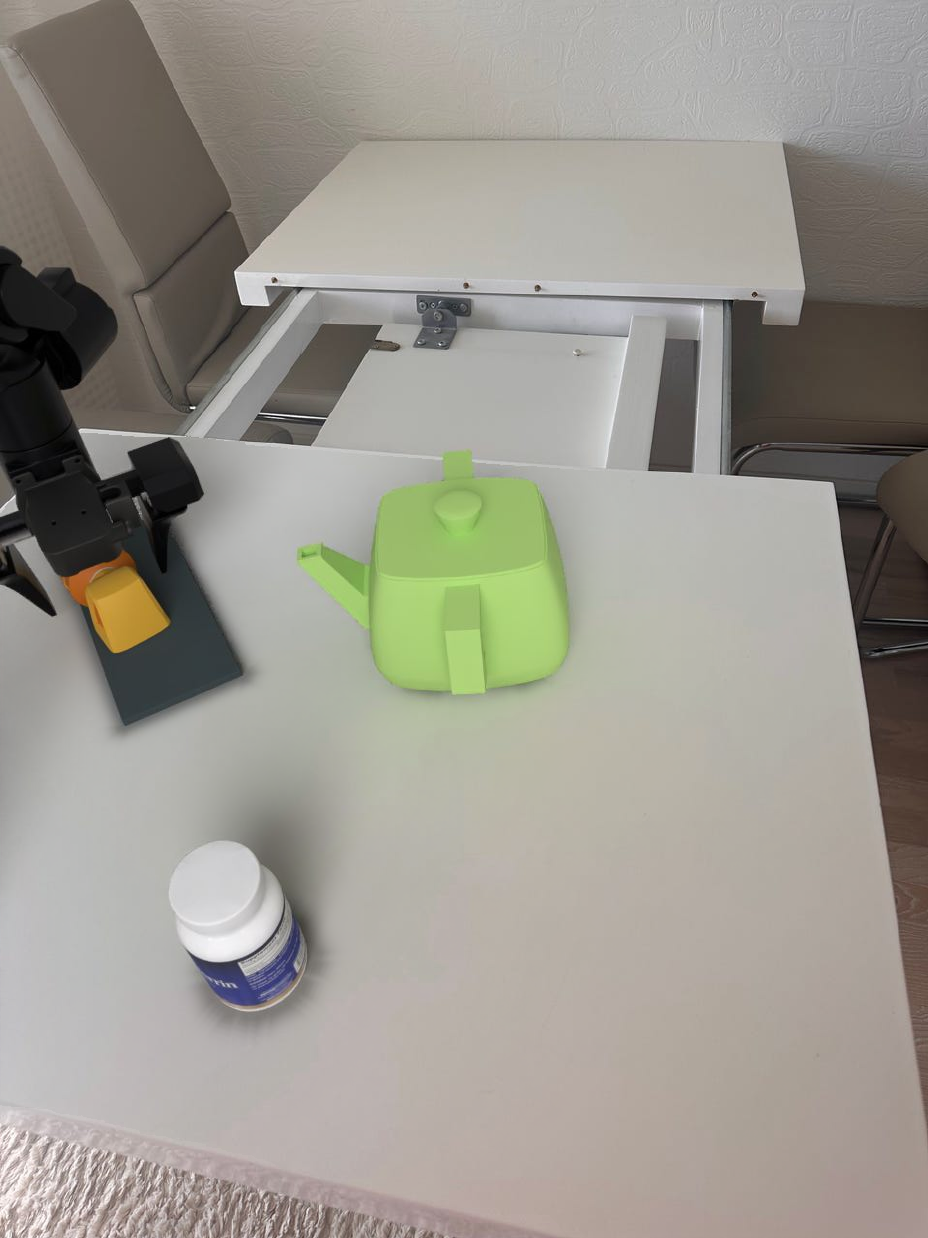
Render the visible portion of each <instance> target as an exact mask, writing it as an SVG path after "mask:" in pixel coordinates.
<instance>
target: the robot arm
mask: <svg viewBox="0 0 928 1238" xmlns="http://www.w3.org/2000/svg"><path fill="white" fill-rule="evenodd" d="M22 264H23V259H22V257H21V256H20V255H18V253H17V252H16V251H14V250H13V249H11V248H9V247H7V246H5V245H0V469H1V471H2V472H3V474H4V476H5V478H6V480H7V482H8V483H9V486H10V487H11V489H12V491H13V494H14V495H15V505H16V508H17V510H16V511H13V512H10V513H8V514H5V515H2V516H0V586H4V587H6V588H8V589H10V590H11V591H14V592H16V593H18V594H19V595H20V596H22V597H23V598H24V599H26V600H27V601H29V602H30V603H31V604H33V605H34V606H36V607H37V608H38V609H40V610H41V611H42V612H44V613H46V614H47V615H48V616H49V617H50V618H54V617H57V616H58V614H57V610H56V608H55V605H54V604H53V602H52V600H51V597H50V595H49V594H48V592H47V590H46V589H45V587H44V586H43V584H42V583H41V581H40V580H39V579H38V577H37V576H36V574H35V573H34V571H33V569H32V568H31V567H30V565H29V564H28V562H27V561H26V560H25V558H24V557H23V555H22V554H21V552H20V551H19V549H18V548H17V546H16V545H15V544H17V543H19V542H23V541H26V540H28V539H31V538H33V537H35V540H36V542H37V544H38V547H39V549H40V551H41V552H42V554H43V556H44V557H45V559H46V561H47V562H48V564H49V565H50V567H51V569H52V570H53V572H54V573H55V574H56V575H57V576H59V577H60V576H61V577H71V576H74V575H77V574H78V573H79V572H80V571H83V570H85V569H88V568H91V567H93V566H96V565H98V564H101V563H108V562H111V561H113V560H115V559H117V558H118V557H119V556H120V555H121V553H122V550H123V547H122V543H121V541H122V540H124V539H127V538H129V537H133V536H134V534H133V532H132V531H133V529H134V528H137V527H139V526H142V525H143V522H142V520H143V521H144V525H145V528H146V532H147V536H148V539H149V543H150V546H151V550H152V553H153V555H154V557H155V560H156V562H157V564H158V566H159V569H160V571H161V573H162V574H164V573H166V572H167V557H168V537H169V531H170V532H171V526H172V522H173V521H174V520H175V518H177V517H178V516H181V515H183V514H185V513H187V511H188V507H189V505H192V504H195V503H197V502H199V501H201V499H202V498H203V497H204V495H205V493H204V492H205V491H204V489H203V487H202V483H201V480H200V478H199V475H198V473H197V471H196V469H195V467H194V465H193V463H192V462H191V460H190V458H189V456H188V455H187V452H186V451H185V450H184V448H183V446H182V444H181V443H180V441H178V440H176V439H174V438H172V437H170V436H168V437H165V438H161V439H159V440H156V441H153V442H151V443H148V444H144V445H142V446H139V447H136V448H133V449H130V450H128V451H126V454H127V457H128V460H129V462H130V464H131V467H130V469H128V470H125V471H122V472H119V473H116V474H114V475H111V476H108V477H105V478H103V479H102V478H101V476H100V474H99V472H98V471H97V469H96V466H95V465H94V464H95V463H94V462H93V460H92V458H91V455H90V454H89V451H88V449H87V447H86V444H85V442H84V440H83V437H82V435H81V433H80V431H79V429H78V426H77V423H76V422H75V419H74V416H73V415H72V413H71V411H70V408H69V405H67V402H66V399H65V397H64V395H63V393H62V391H66V390H72V389H74V388H75V387H78V386H79V385H80V383H81V382H82V381H83V380H85V378H86V376H87V375H88V374H89V373H90V371H91V370H92V369H93V368H94V367H95V366H96V364H97V363H98V362H99V360H100V359H101V358H102V357H103V355H104V354H105V353H106V352H107V351H108V350H109V348H110V347H111V346H112V345H113V343H114V342H115V341H116V339H117V336H118V334H119V333H118V332H119V324H118V319H117V315H116V314H115V311H114V309H113V308H112V307H111V306H109V305H108V304H107V302H106V301H105V299H104V298H103V297H101V295H99V293H97V292H96V291H94V289H92V288H91V287H89V286H87V285H85V284H83V283H81V282H78V281H77V279H76V277H75V274H74V271H73V269H72V268H71V267H70V266H60V267H59V266H45V267H44V268H43V269H42V270H41V271H40V272H39V273H38V274H37V275H34V274H33V273H32V272H30V271H29V270H28V269H26V268H25V267H23V266H22ZM135 498H136V499H137V503H138V506H139V510H140V512H139V510H138V508H137V505H136V503H135V501H134V499H135ZM140 514H141V515H140Z"/></svg>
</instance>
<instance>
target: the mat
mask: <svg viewBox="0 0 928 1238" xmlns="http://www.w3.org/2000/svg"><path fill="white" fill-rule="evenodd" d="M142 522H143V525H142V526H139V527H137V528H134V529H133V531H132V532H133V534H134V536H133V537H129V538H127V539H124V540H122V541H121V543H122V547H123V549H124V550H125V552H127V553H128V554H129V555H130V556H131V557H132V559H133V560H134V562H135V565H136V569H137V574H138V575H139V576H140V577H141V578H142V579H143V581H144V582H145V584H146V585H147V587H148V588H149V590H150V591H151V593H152V594H153V596H154V597H155V599H156V600H157V602H158V603H159V605H160V606H161V608H162V609H163V611H164V612H165V614H166V615H167V616H168V618H169V619H170V621H171V622H170V624H169V626H167V627H166V628H165V629H163V630H162V631H161V632H159V633H157V634H155V635H153V636H152V637H150V638H148V639H146V640H145V641H143V642H141V643H139V644H137V645H135V646H133V647H131V648H130V649H128V650H125V651H122V652H120V653H113V652H111V650H110V649H109V648H108V647H107V645H106V644H105V643H104V641H103V640H102V639H101V637H100V636H99V634H98V633H97V632H96V630H95V627H94V624H93V621H92V618H91V614H90V610H89V607H86V606H84V605H82V604H80V603H79V606H80V608H81V612H82V614H83V617H84V620H85V622H86V626H87V628H88V632H89V634H90V636H91V639H92V642H93V644H94V647H95V650H96V653H97V656H98V659H99V661H100V664H101V666H102V669H103V672H104V675H105V677H106V681H107V684H108V686H109V689H110V691H111V695H112V697H113V700H114V702H115V705H116V708H117V711H118V713H119V717H120V720H121V722H122V724H123V725H124V727H126V726H128V725H130V724H133V723H135V722H137V721H140V720H142V719H144V718H146V717H147V718H148V717H149V716H152V715H154V714H156V713H159V712H161V711H163V710H166V709H168V708H170V707H172V706H175V705H178V704H179V703H182V702H185V701H186V700H188V699H191V698H193V697H196V696H197V695H200V694H203V693H205V692H207V691H209V690H212V689H215V688H217V687H219V686H221V685H224V684H226V683H228V682H231V681H233V680H235V679H238V678H240V677H242V676H243V672H242V670H241V667H240V665H239V664H238V662H237V660H236V658H235V656H234V654H233V652H232V650H231V648H230V646H229V644H228V642H227V640H226V639H225V636H224V634H223V632H222V630H221V628H220V626H219V625H218V622H217V620H216V619H215V617H214V615H213V613H212V611H211V609H210V607H209V605H208V602H207V601H206V599H205V597H204V595H203V592H202V590H201V589H200V587H199V584H198V583H197V581H196V578H195V577H194V575H193V572H192V571H191V569H190V567H189V565H188V563H187V561H186V559H185V557H184V555H183V554H182V552H181V550H180V547H179V546H178V544H177V541H176V540H175V538H174V536H173V534H172V532H171V530H170V531H169V537H168V557H167V572H166V573H164V574H162V573H161V571H160V569H159V566H158V564H157V562H156V560H155V557H154V555H153V553H152V550H151V546H150V543H149V539H148V536H147V532H146V528H145V525H144V521H143V519H142Z"/></svg>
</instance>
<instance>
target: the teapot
mask: <svg viewBox="0 0 928 1238" xmlns="http://www.w3.org/2000/svg"><path fill="white" fill-rule="evenodd" d="M441 453H442V467H443V480H439V481H431V482H424V483H418V484H412V485H407V486H402V487H398V488H395V489H391V490H390V491H388V492H387V491H386V493H385V494H383V495H381V498H380V499H379V505H378V509H377V514H376V521H375V526H374V534H373V539H372V544H371V545H372V546H371V553H370V560H369V564H365V563H362V562H360V561H358V560H356V559H353V558H352V557H349V556H347V555H345V554H343V553H341V552H339V551H337V550H334V549H333V548H330V547H328V546H326V545H324V544H323V542H322V541H321V542H316V543H312V544H308V545H304V546H299V547H297V551H296V560H295V561H296V563H297V565H298V566H299V567H300V568H301V569H302V570H303V571H305V572H306V573H307V574H308V576H310V577H311V578H312V579H313V580H314V581H315V582H316V583H317V584H318V585H319V586H320V587H321V588H322V589H323V590H325V592H326V593H327V594H328V595H329V596H330V597H332V599H334V600H335V601H336V602H337V603H338V604H339V606H341V607H342V608H343V609H344V610H345V611H346V612H347V613H348V614H349V615H351V617H352V618H354V620H355V621H357V623H359V625H360V626H362V627H363V628H364V630H369V639H370V648H371V654H372V658H373V661H374V664H375V667H376V669H377V670H378V671H379V673H380V674H381V675H382V676H383V677H384V678H385V679H386V680H387V681H388V682H389V683H390V684H392V685H394V686H396V687H398V688H403V689H407V690H417V691H435V692H437V691H439V692H451V695H452V696H453V695H454V696H455V695H473V694H486V693H487V690H489V689H490V690H491V689H497V688H498V689H499V688H503V687H508V686H514V685H520V684H525V683H530V682H534V681H537V680H542V679H544V678H547V677H550V676H552V675H553V674H554V673H556V672H557V671H558V670H559V668H560V667H561V666H562V664H563V663H564V661H565V660H566V657H567V655H568V651H569V647H570V610H569V609H570V608H569V595H568V587H567V586H568V585H567V580H566V575H565V569H564V564H563V559H562V555H561V551H560V547H559V543H558V542H559V541H558V539H557V535H556V532H555V528H554V525H553V521H552V518H551V516H550V513H549V510H548V507H547V505H546V503H545V500H544V497H543V495H542V493H541V490H540V488H539V486H538V485H537V483H536V482H534V481H533V480H529V479H525V478H517V477H475V476H474V465H473V455H472V449H471V448H470V449H462V450H453V451H452V450H451V451H442V452H441Z"/></svg>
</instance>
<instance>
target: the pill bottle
mask: <svg viewBox="0 0 928 1238" xmlns="http://www.w3.org/2000/svg"><path fill="white" fill-rule="evenodd" d="M167 891H168V892H167V893H168V901H169V904H170V906H171V907H170V908H171V909H172V911H173V913H174V925H175V930H176V933H177V936H178V939H179V941H180V942H181V945H182V946H183V947H184V949H185V951H186V952H187V954H188V955H189V956H190V958H191V959H192V961H193V962H194V964H195V966H196V968H197V969H198V971H199V972H200V973H201V975H202V976H203V978H204V980H205V981H206V982H207V984H208V986H209V987H210V989H211V990H212V992H213V993H214V994H215V996H216V997H217V999H219V1000H220V1001H221V1002H222V1003H223V1004H225V1006H228V1007H230V1008H232V1009H235V1010H238V1011H242V1012H259V1011H262V1010H266V1009H269V1008H271V1007H274V1006H275V1005H278V1004H279V1003H280V1002H282V1001H283V1000H285V999H286V998H287V997H288V996H289V995H290V994H291V993H292V992H293V991H294V990H295V989H296V988H297V986H298V984H299V983H300V981H301V980H302V977H303V976H304V973H305V971H306V968H307V961H308V947H307V942H306V940H305V936H304V933H303V932H302V929H301V927H300V925H299V923H298V921H297V919H296V916H295V915H294V912H293V909H292V908H291V906H290V903H289V901H288V899H287V896H286V895H285V892H284V890H283V887H282V885H281V883H280V881H279V880H278V878H277V877H276V875H275V874H274V873H273V872H272V871H271V870H270V869H269V868H268V867H266V866H265V865H263V864H261V863H260V861H259V859H258V857H257V856H256V854H255V853H254V852H253V851H252V850H251V849H250V848H249V847H248V846H247V845H244V844H242V843H241V842H239V841H234V840H227V839H220V840H213V841H209V842H206V843H204V844H202V845H199V846H197V847H196V848H194V849H192V850H191V851H190V852H188V853H187V854H186V855H185V856H184V857H183V858H182V859H181V860H180V861H179V862H178V864H177V865H176V866H175V868H174V870H173V872H172V874H171V875H170V879H169V884H168V888H167Z"/></svg>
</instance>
